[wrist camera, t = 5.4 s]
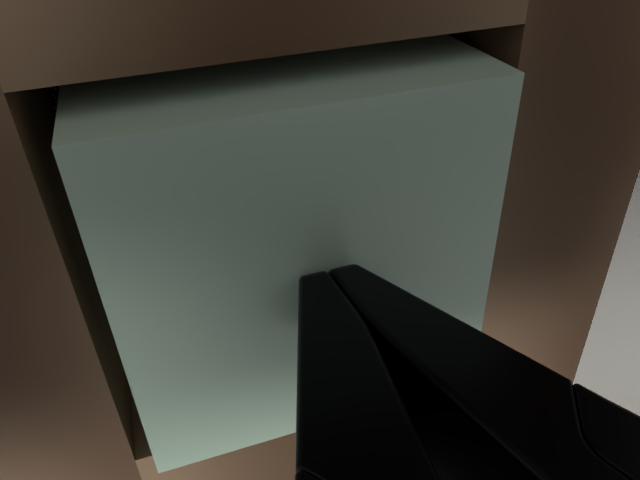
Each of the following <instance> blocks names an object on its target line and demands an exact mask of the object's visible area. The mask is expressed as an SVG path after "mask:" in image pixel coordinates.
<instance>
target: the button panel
mask: <svg viewBox="0 0 640 480" xmlns="http://www.w3.org/2000/svg"><path fill="white" fill-rule="evenodd" d="M444 34H447V35H449V36H451V37H453V38H456V39H458V40H460V41H462V42H464V43H466V44H468V45H470V46H472V47H474V48H476V49H478V50H480V51H482V52H484V53H486V54H488V55H490V56H492V57H494V58H496V59H498V60H500V61H502V62H504V63H506V64H508V65H510V66H512V67H514V68H516V69H518V70H520V71H522V72H524V73H525V74H524V80H523V86H522V92H521V98H520V104H519V110H518V116H517V122H516V128H515V134H514V140H513V145H512V151H511V157H510V163H509V169H508V175H507V181H506V187H505V193H504V199H503V205H502V211H501V217H500V223H499V229H498V235H497V240H496V246H495V252H494V258H493V264H492V270H491V276H490V282H489V288H488V294H487V300H486V306H485V312H484V318H483V324H482V330H481V332H483V333H485V334H487V335H489V336H491V337H492V338H494V339H496V340H498V341H500V342H502V343H503V344H505V345H507V346H509V347H511V348H513V349H515V350H516V351H518V352H520V353H522V354H524V355H526V356H527V357H529V358H531V359H533V360H535V361H537V362H539V363H540V364H542V365H544V366H546V367H548V368H550V369H552V370H553V371H555V372H557V373H559V374H561V375H563V376H564V377H566V378H568V379H570V380H571V381H572V384H573V380H574V377H575V374H576V371H577V368H578V364H579V361H580V358H581V355H582V352H583V348H584V345H585V342H586V339H587V336H588V332H589V329H590V326H591V323H592V320H593V316H594V313H595V310H596V307H597V304H598V300H599V297H600V294H601V291H602V288H603V284H604V281H605V278H606V275H607V272H608V268H609V265H610V262H611V259H612V256H613V252H614V249H615V246H616V243H617V240H618V236H619V233H620V230H621V227H622V224H623V220H624V217H625V214H626V211H627V208H628V204H629V201H630V198H631V195H632V192H633V189H634V185H635V182H636V179H637V176H638V173H639V169H640V0H0V480H295V474H296V471H295V454H296V432H295V433H292V434H289V435H285V436H282V437H279V438H275V439H272V440H269V441H265V442H262V443H259V444H255V445H252V446H249V447H245V448H242V449H239V450H235V451H232V452H229V453H225V454H222V455H219V456H215V457H212V458H209V459H205V460H202V461H199V462H195V463H192V464H189V465H185V466H182V467H178V468H175V469H172V470H168V471H165V472H162V473H158V471H157V468H156V465H155V462H154V459H153V456H152V453H151V450H150V447H149V444H148V441H147V438H146V435H145V431H144V428H143V425H142V422H141V419H140V416H139V413H138V410H137V407H136V404H135V401H134V398H133V395H132V392H131V389H130V386H129V383H128V379H127V376H126V373H125V370H124V367H123V364H122V361H121V358H120V355H119V352H118V349H117V346H116V343H115V340H114V337H113V334H112V331H111V327H110V324H109V321H108V318H107V315H106V312H105V309H104V306H103V303H102V300H101V297H100V294H99V291H98V288H97V285H96V282H95V279H94V276H93V272H92V269H91V266H90V263H89V260H88V257H87V254H86V251H85V248H84V245H83V242H82V239H81V236H80V233H79V230H78V227H77V224H76V220H75V217H74V214H73V211H72V208H71V205H70V202H69V199H68V196H67V193H66V190H65V187H64V184H63V181H62V178H61V175H60V172H59V168H58V165H57V162H56V159H55V156H54V153H53V150H52V140H53V132H54V125H55V118H56V115H55V111H54V108H53V105H52V102H51V99H50V95H49V92H48V89H47V87H52V86H60V85H68V84H75V83H83V82H90V81H98V80H105V79H113V78H120V77H128V76H135V75H143V74H150V73H158V72H165V71H173V70H180V69H188V68H196V67H203V66H211V65H218V64H226V63H233V62H241V61H248V60H256V59H263V58H271V57H278V56H286V55H293V54H301V53H308V52H316V51H324V50H331V49H339V48H346V47H354V46H361V45H369V44H376V43H384V42H391V41H399V40H406V39H414V38H421V37H429V36H436V35H444Z"/></svg>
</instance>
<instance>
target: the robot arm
mask: <svg viewBox="0 0 640 480" xmlns="http://www.w3.org/2000/svg"><path fill="white" fill-rule="evenodd" d="M295 471H296V474H295V480H640V416H638V415H637V414H635V413H633V412H631V411H629V410H627V409H625V408H623V407H621V406H619V405H617V404H615V403H613V402H611V401H609V400H607V399H606V398H604V397H602V396H600V395H598V394H596V393H594V392H593V391H591V390H589V389H587V388H585V387H583V386H582V385H580V384H574V385H573V384H572V381H571V380H570V379H568V378H566V377H564V376H563V375H561V374H559V373H557V372H555V371H553V370H552V369H550V368H548V367H546V366H544V365H542V364H540V363H539V362H537V361H535V360H533V359H531V358H529V357H527V356H526V355H524V354H522V353H520V352H518V351H516V350H515V349H513V348H511V347H509V346H507V345H505V344H503V343H502V342H500V341H498V340H496V339H494V338H492V337H491V336H489V335H487V334H485V333H483V332H481V331H479V330H478V329H476V328H474V327H472V326H470V325H468V324H467V323H465V322H463V321H461V320H459V319H457V318H455V317H454V316H452V315H450V314H448V313H446V312H444V311H443V310H441V309H439V308H437V307H435V306H433V305H431V304H430V303H428V302H426V301H424V300H422V299H420V298H418V297H417V296H415V295H413V294H411V293H409V292H407V291H406V290H404V289H402V288H400V287H398V286H396V285H394V284H393V283H391V282H389V281H387V280H385V279H383V278H382V277H380V276H378V275H376V274H374V273H372V272H370V271H369V270H367V269H365V268H363V267H361V266H359V265H356V264H351V265H347V266H342V267H338V268H334V269H331V270H330V271H329V272H326V271H321V272H316V273H312V274H308V275H303V276H301V277H300V278H299V287H298V343H297V398H296V454H295Z"/></svg>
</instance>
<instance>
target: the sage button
mask: <svg viewBox="0 0 640 480" xmlns="http://www.w3.org/2000/svg"><path fill="white" fill-rule="evenodd" d="M524 74H525V73H524V72H522V71H520V70H518V69H516V68H514V67H512V66H510V65H508V64H506V63H504V62H502V61H500V60H498V59H496V58H494V57H492V56H490V55H488V54H486V53H484V52H482V51H480V50H478V49H476V48H474V47H472V46H470V45H468V44H466V43H464V42H462V41H460V40H458V39H456V38H453V37H451V36H449V35H447V34H444V35H436V36H429V37H421V38H414V39H406V40H399V41H391V42H384V43H376V44H369V45H361V46H354V47H346V48H339V49H331V50H324V51H316V52H308V53H301V54H293V55H286V56H278V57H271V58H263V59H256V60H248V61H241V62H233V63H226V64H218V65H211V66H203V67H196V68H188V69H180V70H173V71H165V72H158V73H150V74H143V75H135V76H128V77H120V78H113V79H105V80H98V81H90V82H83V83H75V84H68V85H60V89H59V96H58V103H57V111H56V118H55V125H54V132H53V140H52V150H53V153H54V156H55V159H56V162H57V165H58V168H59V172H60V175H61V178H62V181H63V184H64V187H65V190H66V193H67V196H68V199H69V202H70V205H71V208H72V211H73V214H74V217H75V220H76V224H77V227H78V230H79V233H80V236H81V239H82V242H83V245H84V248H85V251H86V254H87V257H88V260H89V263H90V266H91V269H92V272H93V276H94V279H95V282H96V285H97V288H98V291H99V294H100V297H101V300H102V303H103V306H104V309H105V312H106V315H107V318H108V321H109V324H110V327H111V331H112V334H113V337H114V340H115V343H116V346H117V349H118V352H119V355H120V358H121V361H122V364H123V367H124V370H125V373H126V376H127V379H128V383H129V386H130V389H131V392H132V395H133V398H134V401H135V404H136V407H137V410H138V413H139V416H140V419H141V422H142V425H143V428H144V431H145V435H146V438H147V441H148V444H149V447H150V450H151V453H152V456H153V459H154V462H155V465H156V468H157V471H158V473H162V472H165V471H168V470H172V469H175V468H178V467H182V466H185V465H189V464H192V463H195V462H199V461H202V460H205V459H209V458H212V457H215V456H219V455H222V454H225V453H229V452H232V451H235V450H239V449H242V448H245V447H249V446H252V445H255V444H259V443H262V442H265V441H269V440H272V439H275V438H279V437H282V436H285V435H289V434H292V433H295V432H296V398H297V343H298V287H299V278H300V277H301V276H303V275H308V274H312V273H316V272H321V271H326V272H329V271H330V270H331V269H334V268H338V267H342V266H347V265H351V264H356V265H359V266H361V267H363V268H365V269H367V270H369V271H370V272H372V273H374V274H376V275H378V276H380V277H382V278H383V279H385V280H387V281H389V282H391V283H393V284H394V285H396V286H398V287H400V288H402V289H404V290H406V291H407V292H409V293H411V294H413V295H415V296H417V297H418V298H420V299H422V300H424V301H426V302H428V303H430V304H431V305H433V306H435V307H437V308H439V309H441V310H443V311H444V312H446V313H448V314H450V315H452V316H454V317H455V318H457V319H459V320H461V321H463V322H465V323H467V324H468V325H470V326H472V327H474V328H476V329H478V330H479V331H481V330H482V324H483V318H484V312H485V306H486V300H487V294H488V288H489V282H490V276H491V270H492V264H493V258H494V252H495V246H496V240H497V235H498V229H499V223H500V217H501V211H502V205H503V199H504V193H505V187H506V181H507V175H508V169H509V163H510V157H511V151H512V145H513V140H514V134H515V128H516V122H517V116H518V110H519V104H520V98H521V92H522V86H523V80H524Z"/></svg>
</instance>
